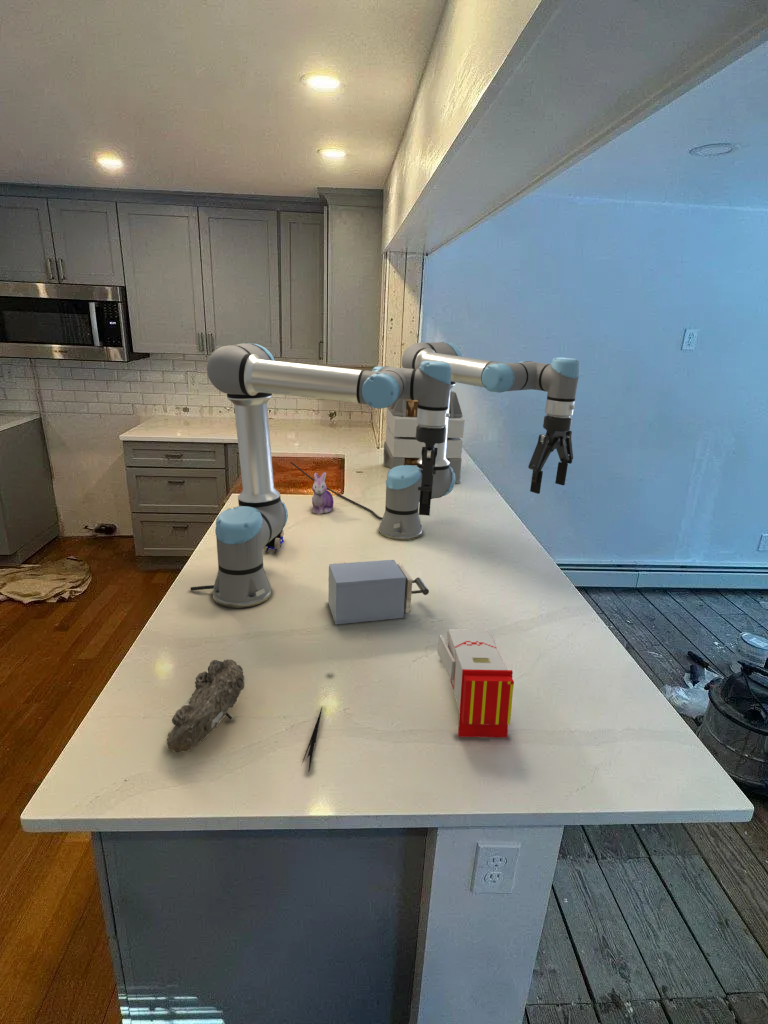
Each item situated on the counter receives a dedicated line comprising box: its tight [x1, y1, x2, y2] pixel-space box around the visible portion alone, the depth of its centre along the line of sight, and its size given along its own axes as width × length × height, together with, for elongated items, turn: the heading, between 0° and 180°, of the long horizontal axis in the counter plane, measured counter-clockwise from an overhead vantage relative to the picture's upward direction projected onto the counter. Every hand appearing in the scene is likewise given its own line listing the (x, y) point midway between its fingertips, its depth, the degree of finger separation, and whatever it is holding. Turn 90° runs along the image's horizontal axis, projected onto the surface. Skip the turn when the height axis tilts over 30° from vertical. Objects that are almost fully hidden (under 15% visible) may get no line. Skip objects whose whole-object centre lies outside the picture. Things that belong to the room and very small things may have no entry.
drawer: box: [397, 562, 430, 614], centre depth 148 cm, size 22×10×10 cm, turn 105°
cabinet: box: [327, 559, 406, 625], centre depth 147 cm, size 18×11×12 cm, turn 105°
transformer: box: [383, 389, 465, 484], centre depth 268 cm, size 34×33×41 cm
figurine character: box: [263, 529, 285, 554], centre depth 183 cm, size 7×8×15 cm
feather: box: [301, 673, 332, 771], centre depth 108 cm, size 2×28×2 cm
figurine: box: [311, 471, 334, 515], centre depth 216 cm, size 9×10×15 cm
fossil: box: [166, 658, 245, 754], centre depth 106 cm, size 22×10×15 cm
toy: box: [437, 628, 515, 738], centre depth 117 cm, size 12×13×30 cm
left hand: (425, 506), depth 148 cm, fingers open, 13 cm apart
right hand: (547, 488), depth 165 cm, fingers open, 13 cm apart
